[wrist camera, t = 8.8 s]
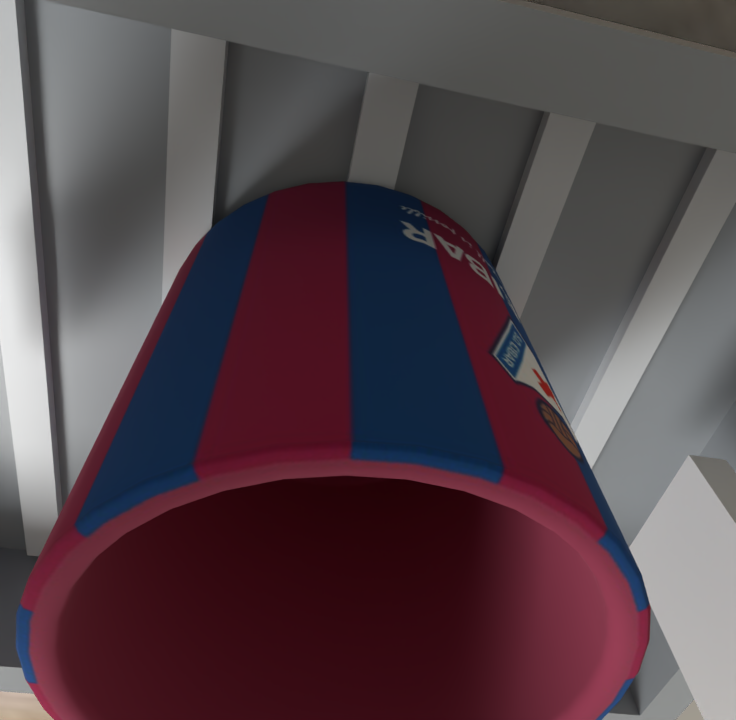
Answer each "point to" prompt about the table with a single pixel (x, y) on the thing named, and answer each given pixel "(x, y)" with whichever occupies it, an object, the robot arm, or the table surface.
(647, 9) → the table surface
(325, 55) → the rack
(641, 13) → the table surface
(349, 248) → the mug
